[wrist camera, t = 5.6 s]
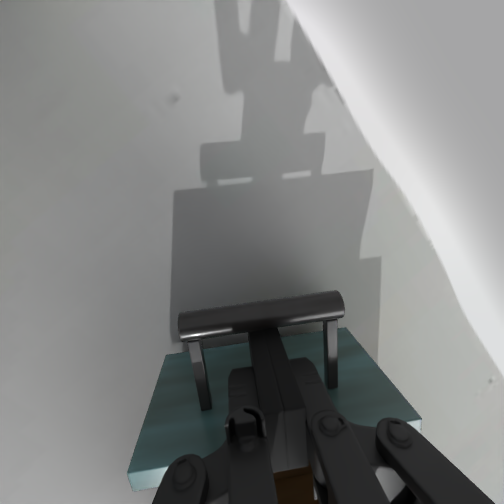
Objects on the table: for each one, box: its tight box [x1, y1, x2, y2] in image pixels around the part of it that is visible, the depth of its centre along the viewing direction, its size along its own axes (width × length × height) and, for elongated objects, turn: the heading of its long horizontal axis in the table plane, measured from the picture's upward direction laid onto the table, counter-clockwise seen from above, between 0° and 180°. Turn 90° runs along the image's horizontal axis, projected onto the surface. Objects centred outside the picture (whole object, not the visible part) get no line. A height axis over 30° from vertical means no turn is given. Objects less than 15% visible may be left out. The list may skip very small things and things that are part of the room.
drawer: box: [127, 290, 422, 504], centre depth 16 cm, size 19×14×8 cm
